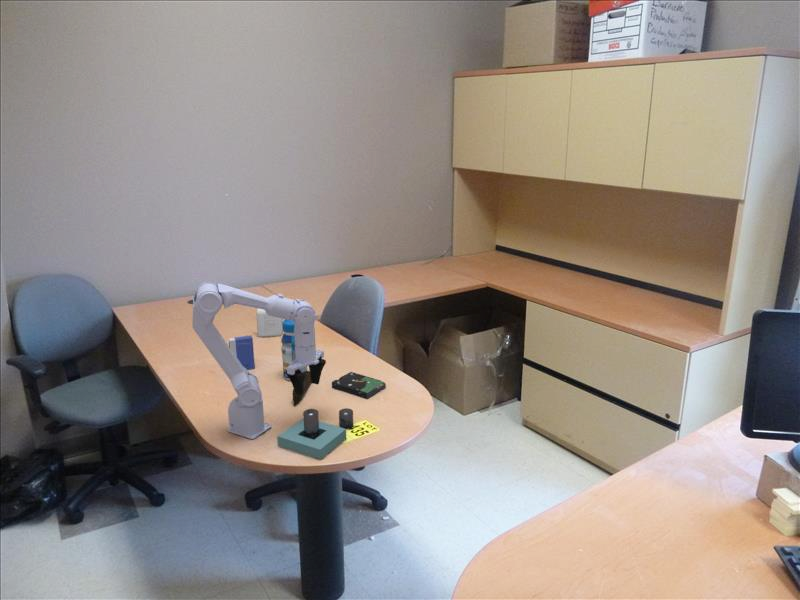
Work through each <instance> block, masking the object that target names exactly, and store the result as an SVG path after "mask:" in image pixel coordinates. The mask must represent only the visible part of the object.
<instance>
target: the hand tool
mask: <svg viewBox="0 0 800 600" xmlns="http://www.w3.org/2000/svg"><path fill="white" fill-rule="evenodd" d="M303 373H306V375H305V378H304V383H303V394H302V395H299V394H296V393H295V390H294V388H293V389H292V402H293V407H294V406H297V405H299V404H300V402H301V401H303V396H304V395H305V393H306V391H307V389H308V388H309V386H310V384H311V383H312V382H311V375H310V370H307V371H305V372H303Z"/></svg>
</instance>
